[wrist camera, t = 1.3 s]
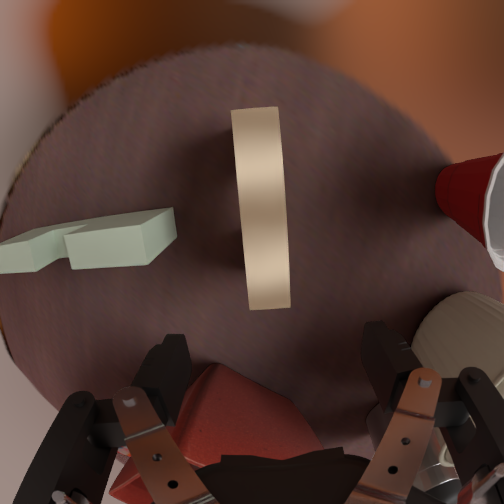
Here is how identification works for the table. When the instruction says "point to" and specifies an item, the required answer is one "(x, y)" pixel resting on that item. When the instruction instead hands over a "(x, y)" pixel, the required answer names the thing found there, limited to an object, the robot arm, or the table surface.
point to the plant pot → (227, 427)
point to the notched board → (92, 242)
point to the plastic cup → (476, 200)
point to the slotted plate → (262, 206)
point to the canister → (462, 343)
